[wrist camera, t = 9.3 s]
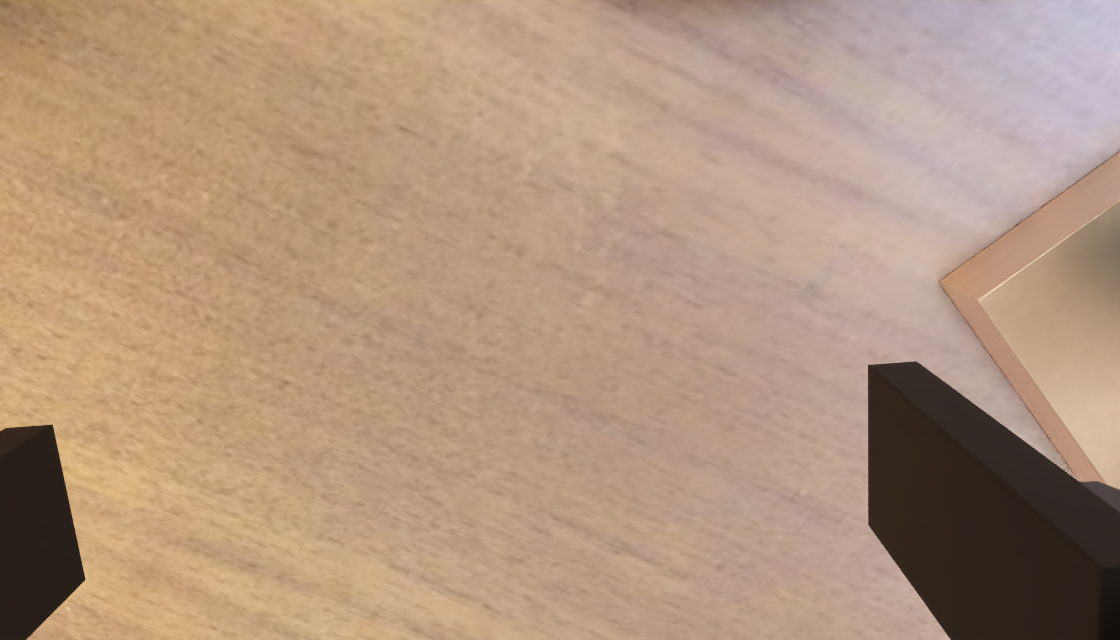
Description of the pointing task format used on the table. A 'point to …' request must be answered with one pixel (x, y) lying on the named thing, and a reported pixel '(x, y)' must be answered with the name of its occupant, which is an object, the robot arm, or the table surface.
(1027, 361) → the panel
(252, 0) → the table surface
